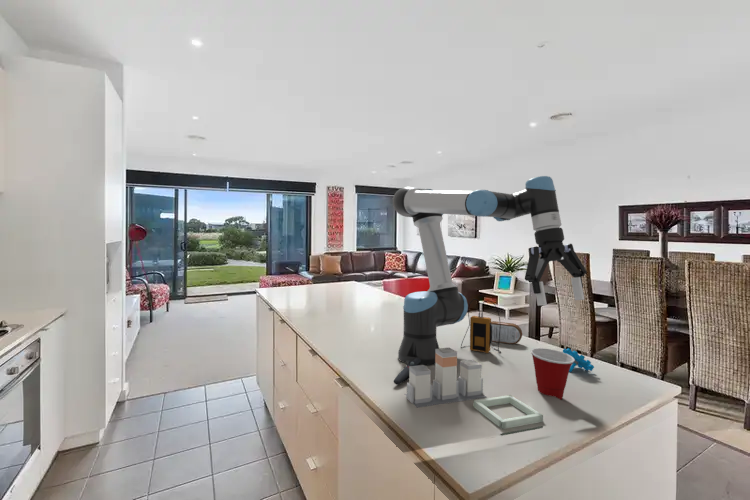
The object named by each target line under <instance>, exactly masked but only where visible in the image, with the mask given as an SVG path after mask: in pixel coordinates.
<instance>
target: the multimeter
mask: <svg viewBox="0 0 750 500" xmlns="http://www.w3.org/2000/svg"><path fill="white" fill-rule="evenodd" d="M473 301H477V302H478V307H479V308H478V315H472V316H471V317H470V313H469V312H470V306H471V304H472V302H473ZM486 302H487V300H485V301H483V302H482V305H481V303H480V301H479V300H478V299H477V298H473V299H472V300H471V301H470V302H469V304H468V310H467V315H468V322H469V323H468V326H467V328H466V332H465V335H464V336H463V339H462V340H461V344H460V349H463V348H466V347H465V346H466V345H465V346H462V345H463V342H464V341H465V338H466V335H467V332H468V331H469V346H470V347H469V350H470V351H475V352H480V353H485V354H489V353H490V352H491V348H492V349H493V350H495V351H497V353H499V354H500V353H502V351H501V350H500V348H499V346H500V343H499V342H497V343H498V344H497V348H496V347H493V346H492V326H491V322H492V318H491V317H488V316H487V317H485V316H484V313H483V312H484V311H483V307H484V306H483V305H484V303H486ZM489 302H490V303H492V304H493V305H494V307H495V308H496V311H497V313H498V314H497V315H498V318H499V319H498V320H499V321H498V322H501V317H500V313H499V309H498V307H497V305H496V304H495V303H494V302H493V301H492V300H489ZM500 329H501V325H500ZM499 340H500V333H499ZM462 347H463V348H462Z"/></svg>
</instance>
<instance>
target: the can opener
mask: <svg viewBox="0 0 750 500" xmlns="http://www.w3.org/2000/svg"><path fill="white" fill-rule="evenodd" d="M418 365H421V360H420V359H419V358H416V359H414V360H413V361H406V363H405V367H404V368H403V369H401V371H400V372H399V373H398V374H397V376H396V377H394V379H393V383H394V385H397V386H398V385H401V384H403V383H406V382H407V381H408V380H409V366H418Z"/></svg>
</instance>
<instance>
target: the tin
mask: <svg viewBox="0 0 750 500" xmlns="http://www.w3.org/2000/svg"><path fill="white" fill-rule="evenodd" d="M500 325H501V329H500ZM491 326H492V342H494V343H498V342H499V344H506V345H507V344H508V345H516V344H518V343H519V342H520V341H521V339H522V338H523V331H522V329H521V327H520V326H519V325H518V324H516V323H512V322H503V321H497V320H496V321H493V320H491ZM499 333H500V340H499ZM492 342H491V343H492Z"/></svg>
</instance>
